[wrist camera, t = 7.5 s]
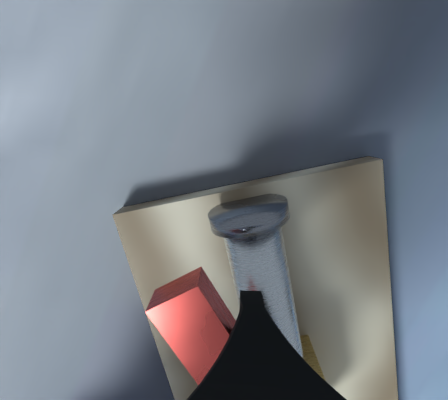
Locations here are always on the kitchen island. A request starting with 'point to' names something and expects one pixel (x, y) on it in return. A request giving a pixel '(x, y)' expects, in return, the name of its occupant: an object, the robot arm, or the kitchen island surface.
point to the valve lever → (192, 320)
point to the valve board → (297, 263)
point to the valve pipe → (262, 260)
